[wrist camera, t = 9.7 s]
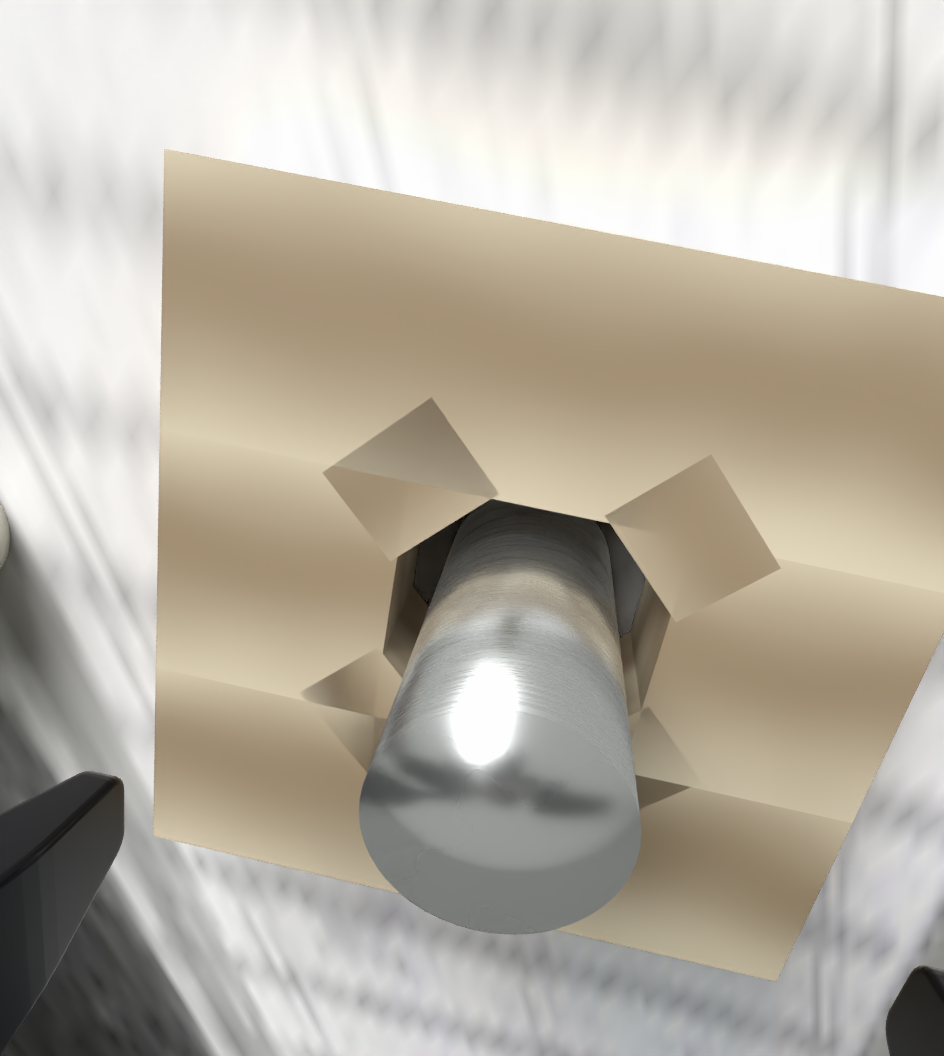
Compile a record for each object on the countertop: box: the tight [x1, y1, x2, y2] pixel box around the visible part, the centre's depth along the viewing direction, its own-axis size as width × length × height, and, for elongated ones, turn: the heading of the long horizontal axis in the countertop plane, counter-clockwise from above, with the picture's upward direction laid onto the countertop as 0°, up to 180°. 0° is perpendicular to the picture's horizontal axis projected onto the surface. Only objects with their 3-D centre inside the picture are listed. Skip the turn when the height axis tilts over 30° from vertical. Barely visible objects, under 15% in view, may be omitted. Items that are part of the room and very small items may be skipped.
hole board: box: [153, 149, 944, 982], centre depth 15 cm, size 14×14×3 cm
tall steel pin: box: [359, 499, 641, 934], centre depth 13 cm, size 4×4×8 cm
